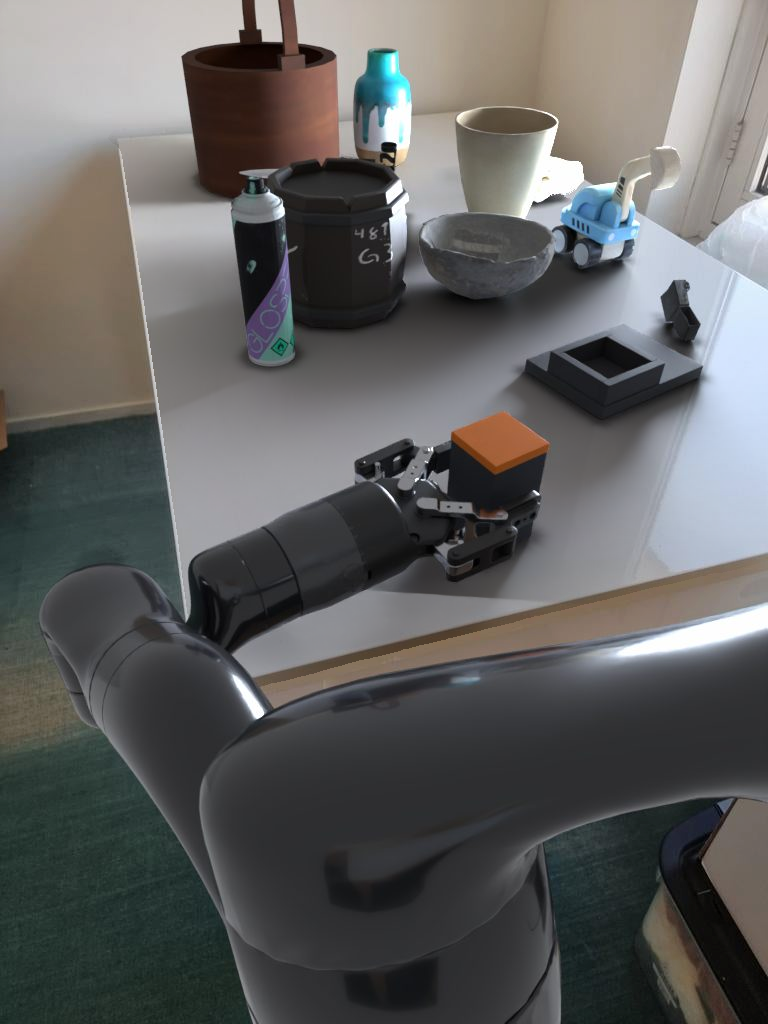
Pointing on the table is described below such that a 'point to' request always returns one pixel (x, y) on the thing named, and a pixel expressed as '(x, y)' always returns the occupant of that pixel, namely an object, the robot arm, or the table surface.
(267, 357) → the spray can
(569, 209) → the toy excavator
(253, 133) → the bucket
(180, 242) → the table surface
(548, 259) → the bowl
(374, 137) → the vase
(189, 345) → the table surface
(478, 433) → the black and orange block
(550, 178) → the stone
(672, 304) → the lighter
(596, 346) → the dark square socket base
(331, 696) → the robot arm
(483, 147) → the plant pot
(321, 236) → the barrel
